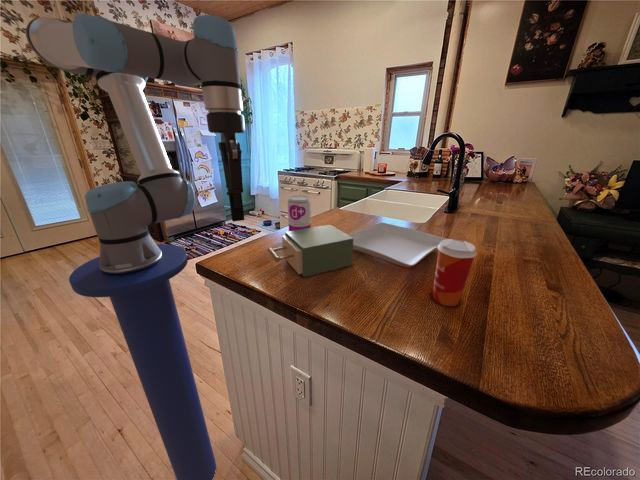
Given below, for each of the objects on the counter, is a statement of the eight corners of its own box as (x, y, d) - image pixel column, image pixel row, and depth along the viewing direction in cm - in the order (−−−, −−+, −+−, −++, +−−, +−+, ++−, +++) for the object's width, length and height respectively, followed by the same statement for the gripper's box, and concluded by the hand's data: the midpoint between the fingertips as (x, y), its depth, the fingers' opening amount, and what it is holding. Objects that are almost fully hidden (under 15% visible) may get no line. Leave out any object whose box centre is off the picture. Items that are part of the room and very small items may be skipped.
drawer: (279, 279, 66) (277, 255, 64) (265, 260, 77) (264, 239, 74) (344, 263, 75) (345, 241, 72) (324, 247, 85) (324, 228, 83)
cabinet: (303, 277, 69) (303, 248, 66) (286, 257, 80) (285, 231, 77) (351, 265, 76) (353, 238, 73) (329, 248, 87) (330, 224, 84)
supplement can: (306, 242, 92) (306, 201, 86) (285, 239, 94) (283, 199, 88) (313, 234, 99) (313, 196, 93) (293, 232, 101) (292, 194, 96)
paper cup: (430, 286, 65) (440, 235, 60) (464, 295, 62) (478, 242, 56) (425, 302, 59) (435, 247, 54) (462, 313, 55) (477, 255, 50)
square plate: (448, 248, 87) (451, 238, 86) (410, 277, 69) (412, 264, 68) (380, 229, 105) (381, 220, 103) (336, 248, 87) (336, 237, 86)
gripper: (250, 111, 50) (260, 225, 59) (237, 115, 60) (247, 211, 69) (209, 109, 47) (226, 230, 56) (203, 114, 57) (218, 215, 66)
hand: (238, 219), depth 62 cm, fingers closed
